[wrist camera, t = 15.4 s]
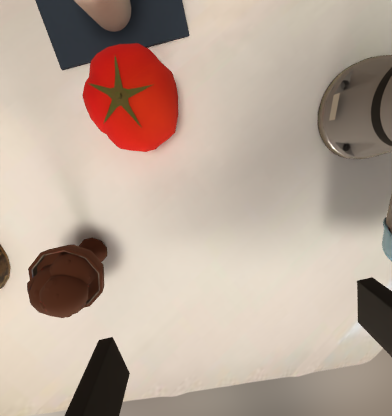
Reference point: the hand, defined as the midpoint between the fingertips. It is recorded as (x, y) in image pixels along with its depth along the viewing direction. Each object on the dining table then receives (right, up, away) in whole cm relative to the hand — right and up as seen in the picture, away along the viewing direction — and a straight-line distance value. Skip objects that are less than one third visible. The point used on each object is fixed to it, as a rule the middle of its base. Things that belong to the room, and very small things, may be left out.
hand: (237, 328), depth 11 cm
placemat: (-14, +35, +19) cm, 42 cm away
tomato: (-11, +23, +23) cm, 34 cm away
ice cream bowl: (-22, -2, +30) cm, 37 cm away
